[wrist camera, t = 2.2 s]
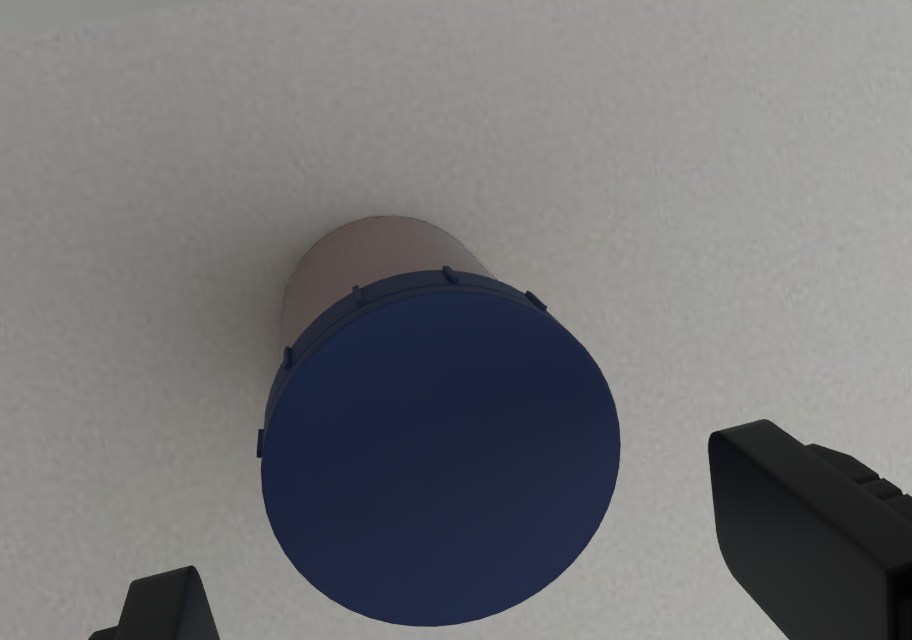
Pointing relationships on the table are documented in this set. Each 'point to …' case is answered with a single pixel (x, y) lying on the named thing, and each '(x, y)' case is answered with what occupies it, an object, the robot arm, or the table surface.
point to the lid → (436, 449)
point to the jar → (365, 265)
